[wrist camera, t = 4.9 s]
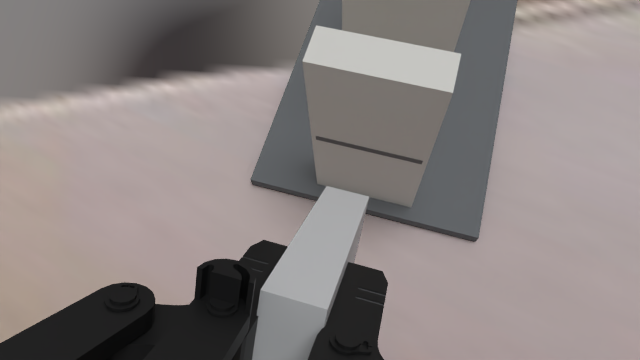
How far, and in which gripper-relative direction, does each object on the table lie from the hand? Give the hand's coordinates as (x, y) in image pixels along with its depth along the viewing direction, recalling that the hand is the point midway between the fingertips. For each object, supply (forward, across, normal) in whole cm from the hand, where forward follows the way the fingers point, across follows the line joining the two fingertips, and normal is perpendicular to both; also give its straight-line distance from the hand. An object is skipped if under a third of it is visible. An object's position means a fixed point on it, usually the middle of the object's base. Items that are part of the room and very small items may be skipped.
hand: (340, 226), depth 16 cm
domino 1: (+9, 0, -1) cm, 9 cm away
